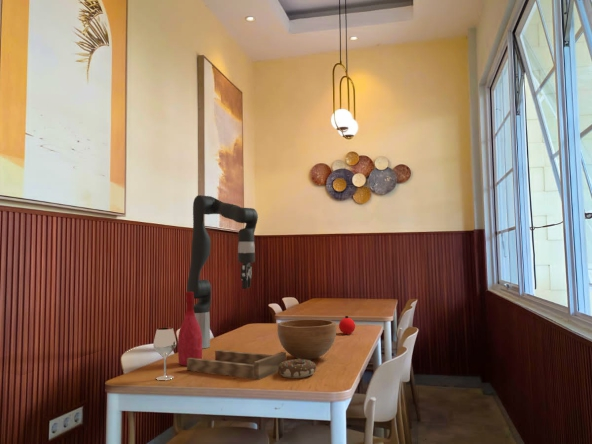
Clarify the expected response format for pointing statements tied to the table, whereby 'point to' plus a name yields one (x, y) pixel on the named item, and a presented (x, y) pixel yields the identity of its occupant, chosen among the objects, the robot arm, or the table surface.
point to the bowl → (307, 337)
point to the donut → (296, 368)
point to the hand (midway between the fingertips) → (246, 288)
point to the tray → (239, 364)
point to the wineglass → (165, 346)
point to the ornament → (346, 325)
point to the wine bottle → (189, 334)
